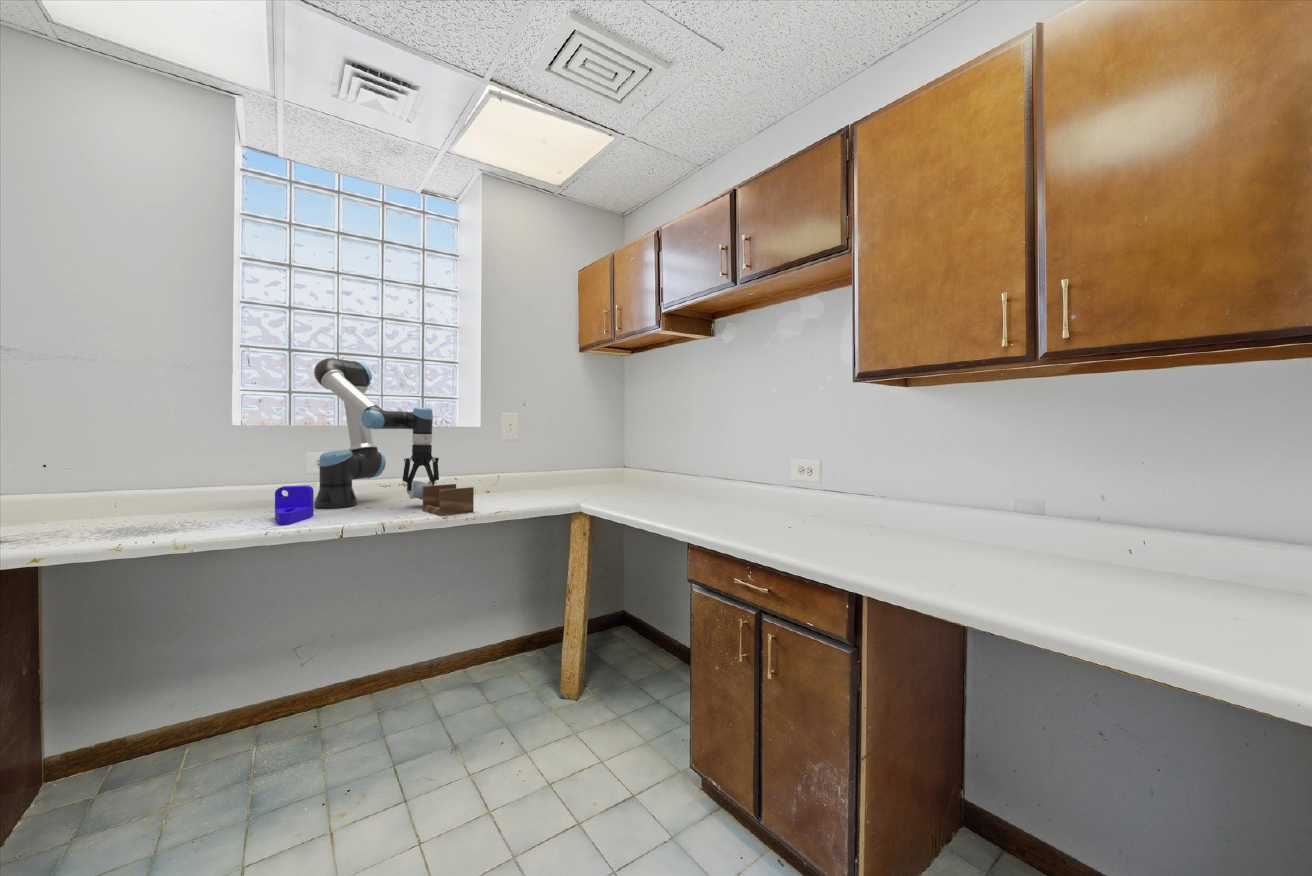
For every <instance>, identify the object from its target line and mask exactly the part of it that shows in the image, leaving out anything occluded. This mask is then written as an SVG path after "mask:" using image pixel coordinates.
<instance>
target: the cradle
mask: <svg viewBox="0 0 1312 876" xmlns="http://www.w3.org/2000/svg"><path fill="white" fill-rule="evenodd" d="M474 488H475V487H473V486H469V487H459V488H458V487H457V483H449V484H437V485H435V484H434V486H423V500H422V512H426V513H429V514H433V515H436V516H440V517H443V516H445V517H446V516H451V515H452V516H453V515H461V514H466V513H473V512H474V507H475V506H474V498H475V497H474V493H475V492H474Z"/></svg>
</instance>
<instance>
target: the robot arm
mask: <svg viewBox="0 0 1312 876" xmlns="http://www.w3.org/2000/svg"><path fill="white" fill-rule="evenodd" d="M313 374H314V378H315V380H316V381H317V383H318V384H319V385H321V387H322V388H324V389H326V390H330V391H331V392H332V393H333V394H334V395H336V396H337V397H338V398H339V399H340V400H341V401H343V405H344V410H345V411H344V412H345V419H346V424H347V429H348V436H349V442H350V447H349V448H348V449H343V450H332V451H331V450H330V451H327V452H323V453H322V454H320V456H319V461H318V462H319V463H318V466H319V489H318V492H317V495H316V497H315V500H314V503H313V508H315V509H322V510H323V509H324V510H325V509H328V510H329V509H343V508H350V507H351V508H352V507H355V506H357V505H358V502H357V501H358V500H357V497H356V493H355V491H354V489H353V481H354V480H363V479H372V478H376V477H379V476H380V475H382V474H383V471H384V470H385V469H386V465H387V462H386V457H385V455H384V454H383V453H382V452H380V451H379V450H378V446H377V445H375V444H374V443H373V438H372V431H371V430H386V429H387V430H412V439H411V441H412V445H411V447H412V449H411V453H412V455H411V456H410V457H404V459H403V460H404V461H403V462H404V468H403V474H402V482H404V483H406V485H407V486H406V491H407V490H408V491H409V494H408V498H409V499H411V500H413V499H414V498H415V497H414V483H412V481H414V479H415V476H416V473H417V471H418V469H419V467H421V466H423V467H424V469H425V471H426V474H427V475H428V480H429V481H427V484H431V485H433V486H434V485H435V483H436V481H439V480H440V474H439V472H440V471H439V457H436V456H435V457H434V456H433V455H432V452H433V451H432V446H433V445H432V443H433V423H434V417H433V416H434V415H433V409H432V408H429V407H413V410H412V411H404V410H401V411H400V410H395V411H394V410H383V408H381V407H380V406H379V405H377V404H376V403H375V402H374V401H373V400H372V399H371V398H370V397H368V396H367V395H366V392H367V391H368V390H369V389H368V387H369V386H370V385H371V384H372V382H371V381H372V380H373V379H372V378H373V375H372V372H371V370H370V368H369V366H367V365H366V364H365V363H363V362H360V361H356V360H347V359H342V358H335V357H334V358H333V357H330V358H329V357H327V358H325V359H322V360H320V361H318V363H317V364H315V367H314V371H313ZM431 461H432V467H431V465H430V463H431ZM411 463H413V464H412V468H410V467H411ZM431 468H432V469H431ZM410 469H411V470H410Z"/></svg>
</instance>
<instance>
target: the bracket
mask: <svg viewBox="0 0 1312 876" xmlns="http://www.w3.org/2000/svg"><path fill="white" fill-rule="evenodd" d="M283 491H285V492H287V495H283ZM314 496H315V495H314V488H313V487H312V486H310V485H308V484H306V485H283V486H281V487H278V488H277V489H276V490H275V492H274V521H275V522H276V523H277V525H278V526H289V525H294V524H297V523H299V522H302V521H305V520H308V519H312V518H313V517H314V503H315V500H314Z"/></svg>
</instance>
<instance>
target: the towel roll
mask: <svg viewBox="0 0 1312 876" xmlns="http://www.w3.org/2000/svg"><path fill="white" fill-rule="evenodd" d="M412 483H414V498H415V499H418V500H421V501H423V486H433V485H431V484H428V482H427V483H426V482H422V481H419V480H413V481H412ZM406 493H407V495H409V491H408V490H407V489H406Z"/></svg>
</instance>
